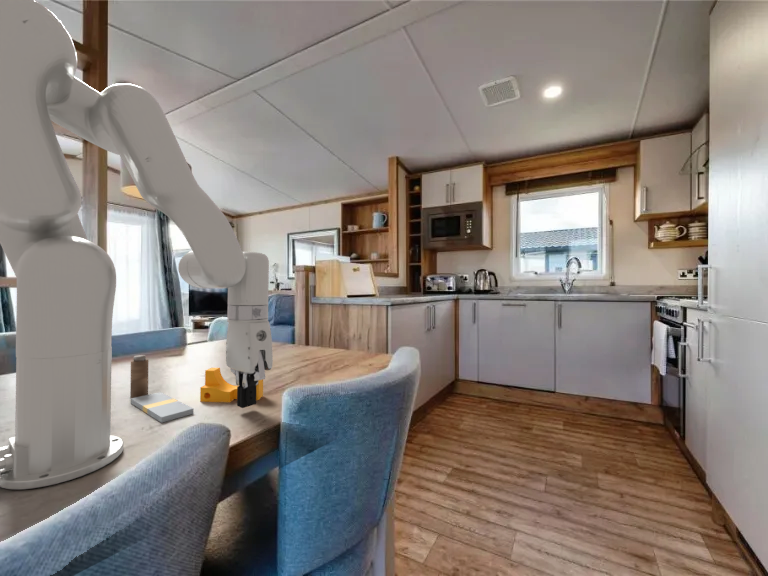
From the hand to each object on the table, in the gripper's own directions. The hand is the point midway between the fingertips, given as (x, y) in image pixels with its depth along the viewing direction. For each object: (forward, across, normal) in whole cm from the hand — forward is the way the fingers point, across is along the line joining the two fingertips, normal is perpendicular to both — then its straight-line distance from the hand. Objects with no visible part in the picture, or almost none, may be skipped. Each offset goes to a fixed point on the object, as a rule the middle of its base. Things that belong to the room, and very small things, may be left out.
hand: (246, 405), depth 65 cm
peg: (+1, +27, +10) cm, 29 cm away
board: (+1, +15, +10) cm, 18 cm away
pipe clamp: (+2, +9, -2) cm, 10 cm away
